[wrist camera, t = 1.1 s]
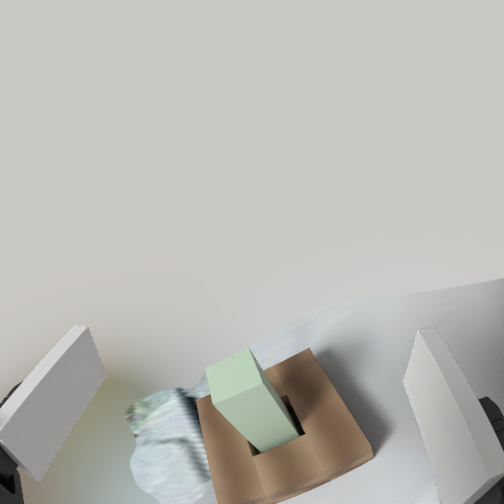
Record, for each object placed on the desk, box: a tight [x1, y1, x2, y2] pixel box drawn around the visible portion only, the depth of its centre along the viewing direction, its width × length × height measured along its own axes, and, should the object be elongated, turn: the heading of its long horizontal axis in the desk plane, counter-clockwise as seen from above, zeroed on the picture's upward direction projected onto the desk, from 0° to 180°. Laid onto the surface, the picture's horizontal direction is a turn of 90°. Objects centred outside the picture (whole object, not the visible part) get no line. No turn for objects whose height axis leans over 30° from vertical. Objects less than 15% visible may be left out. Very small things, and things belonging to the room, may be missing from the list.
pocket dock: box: [196, 348, 374, 504], centre depth 30 cm, size 16×16×4 cm
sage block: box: [205, 348, 301, 453], centre depth 28 cm, size 4×4×14 cm
